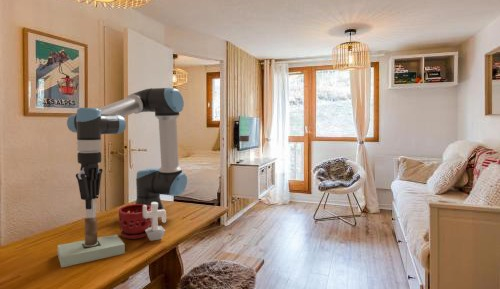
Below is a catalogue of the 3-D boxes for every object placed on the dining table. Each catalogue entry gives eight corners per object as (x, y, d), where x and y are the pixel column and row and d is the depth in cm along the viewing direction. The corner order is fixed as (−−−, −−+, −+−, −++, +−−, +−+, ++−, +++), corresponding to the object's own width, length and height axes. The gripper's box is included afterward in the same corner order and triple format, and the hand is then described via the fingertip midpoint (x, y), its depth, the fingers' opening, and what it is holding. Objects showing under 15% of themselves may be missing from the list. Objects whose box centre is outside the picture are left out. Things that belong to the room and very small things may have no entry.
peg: (96, 250, 117) (96, 216, 116) (99, 254, 113) (98, 219, 112) (83, 253, 114) (83, 218, 113) (85, 257, 110) (85, 221, 110)
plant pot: (113, 236, 131) (112, 208, 130) (141, 228, 141) (141, 202, 141) (129, 244, 123) (129, 214, 122) (158, 235, 133) (158, 207, 132)
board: (116, 242, 124) (116, 234, 124) (124, 253, 115) (124, 244, 114) (57, 254, 112) (57, 245, 112) (61, 267, 103) (60, 257, 102)
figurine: (168, 238, 129) (168, 203, 128) (144, 243, 124) (144, 206, 123) (163, 233, 135) (163, 199, 134) (140, 237, 130) (140, 201, 129)
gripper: (89, 149, 118) (91, 211, 119) (67, 153, 105) (69, 222, 106) (109, 150, 117) (110, 212, 119) (89, 153, 104) (90, 223, 106)
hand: (90, 217), depth 112 cm, fingers closed
